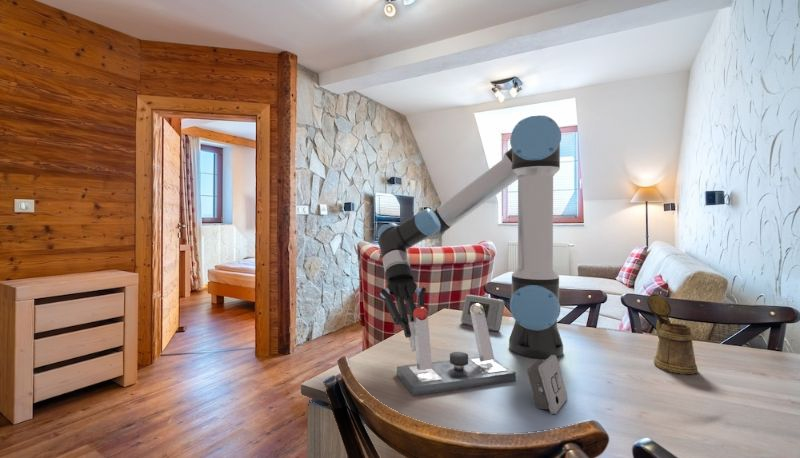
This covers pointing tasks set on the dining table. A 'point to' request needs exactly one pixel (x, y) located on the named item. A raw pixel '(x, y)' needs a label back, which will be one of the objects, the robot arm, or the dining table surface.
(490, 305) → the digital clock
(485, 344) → the ivory knob lever
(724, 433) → the dining table surface
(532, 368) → the electrical switch
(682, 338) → the wooden mug
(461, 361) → the black button
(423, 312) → the red knob lever
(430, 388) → the console
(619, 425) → the dining table surface
